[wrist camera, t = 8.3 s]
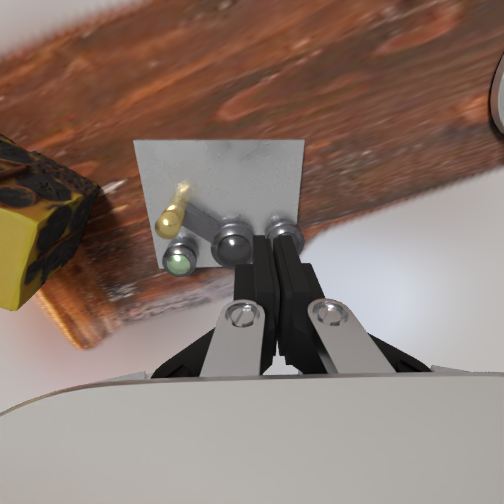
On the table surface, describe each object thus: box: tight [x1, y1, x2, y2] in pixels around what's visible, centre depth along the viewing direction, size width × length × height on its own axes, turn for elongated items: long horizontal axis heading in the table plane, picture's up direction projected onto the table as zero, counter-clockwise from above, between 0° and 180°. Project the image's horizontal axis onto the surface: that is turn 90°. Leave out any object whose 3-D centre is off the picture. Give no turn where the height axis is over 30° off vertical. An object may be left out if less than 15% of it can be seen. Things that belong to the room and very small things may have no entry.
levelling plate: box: [133, 138, 305, 277], centre depth 27 cm, size 16×14×4 cm
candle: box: [0, 134, 99, 311], centre depth 23 cm, size 10×10×10 cm
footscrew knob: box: [155, 197, 255, 269], centre depth 26 cm, size 10×5×6 cm, turn 53°
